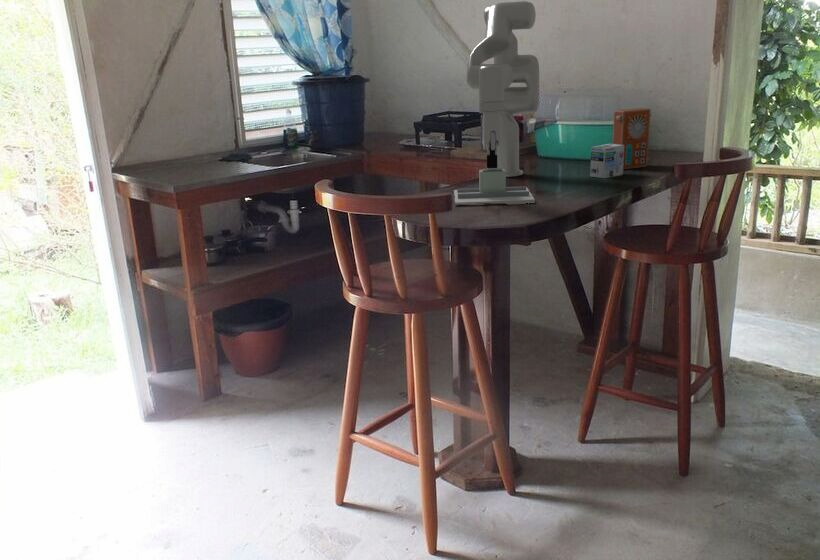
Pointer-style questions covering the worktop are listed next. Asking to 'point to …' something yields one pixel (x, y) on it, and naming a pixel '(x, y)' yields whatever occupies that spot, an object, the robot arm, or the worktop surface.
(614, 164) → the light bulb box
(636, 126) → the control panel
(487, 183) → the block
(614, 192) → the worktop surface
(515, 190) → the rail plate
